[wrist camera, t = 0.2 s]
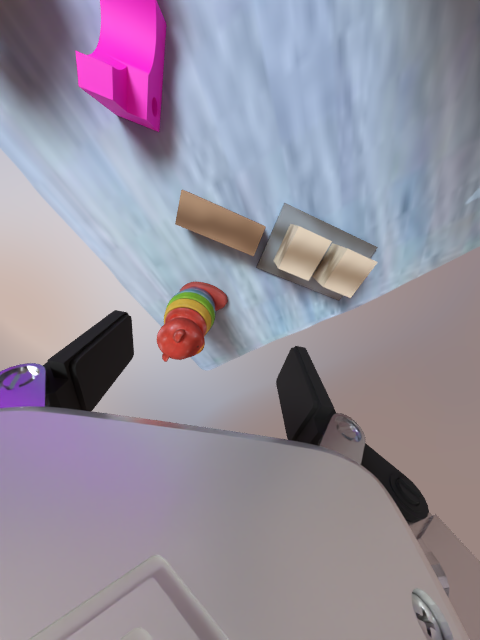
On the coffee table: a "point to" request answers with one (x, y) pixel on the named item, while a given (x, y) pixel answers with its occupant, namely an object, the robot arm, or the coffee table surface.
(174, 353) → the stacking bear
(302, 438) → the robot arm
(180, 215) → the lintel
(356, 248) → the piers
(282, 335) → the coffee table surface
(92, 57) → the toy block
